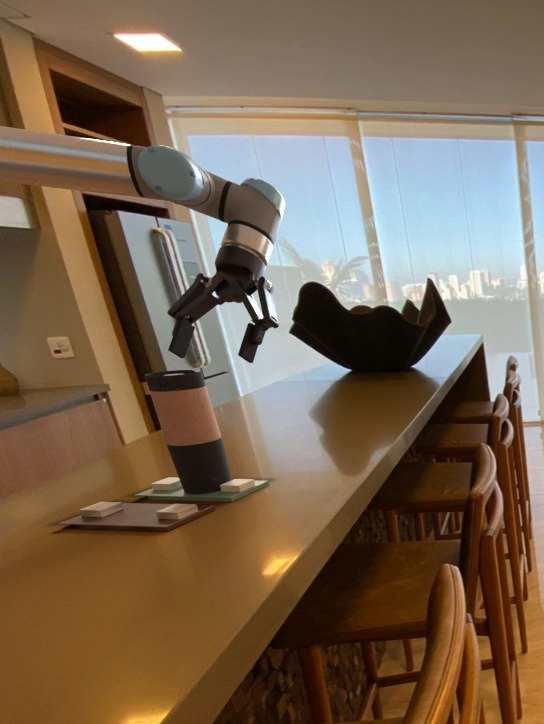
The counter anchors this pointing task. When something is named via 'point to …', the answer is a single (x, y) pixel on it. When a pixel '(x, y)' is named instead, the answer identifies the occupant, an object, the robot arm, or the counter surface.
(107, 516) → the strip
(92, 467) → the counter surface
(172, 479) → the strip
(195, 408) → the travel mug
